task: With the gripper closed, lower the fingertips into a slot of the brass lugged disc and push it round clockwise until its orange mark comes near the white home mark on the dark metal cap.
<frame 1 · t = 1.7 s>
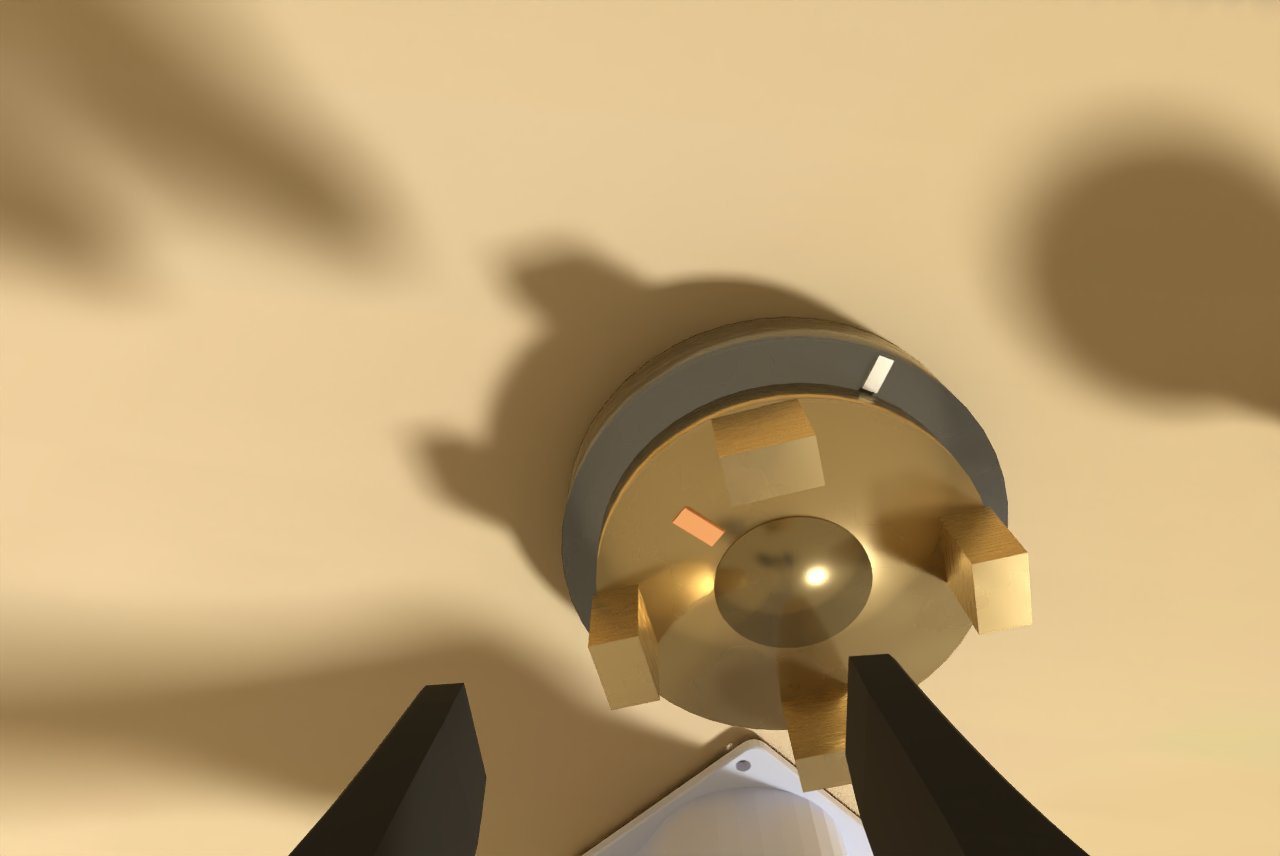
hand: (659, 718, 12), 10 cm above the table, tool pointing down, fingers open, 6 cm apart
brass lugged disc: (795, 593, 19), point 4 cm above the table, hinge at 0.0°
cap base: (771, 514, 22), on the table
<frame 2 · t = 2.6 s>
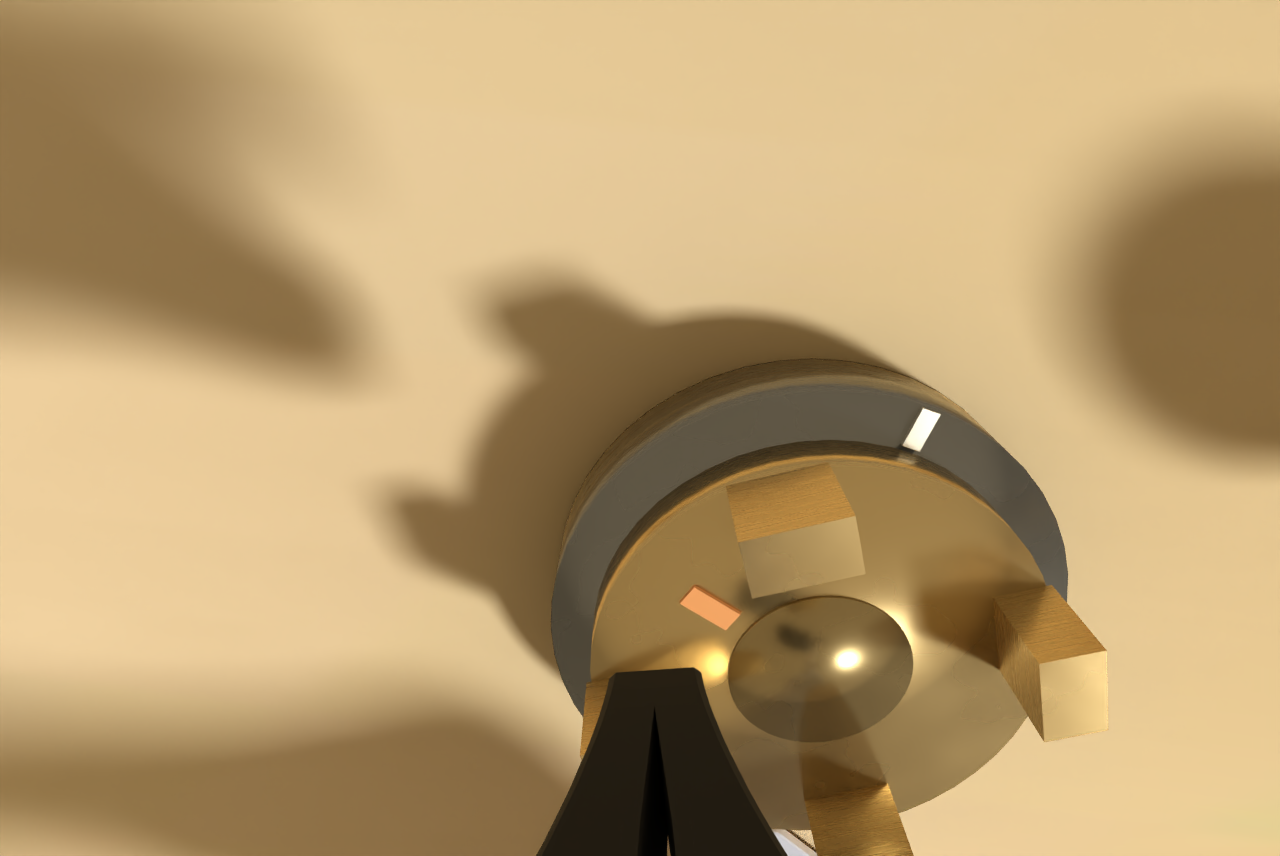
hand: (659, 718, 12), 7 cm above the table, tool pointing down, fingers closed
brass lugged disc: (823, 683, 16), point 4 cm above the table, hinge at 0.0°
cap base: (790, 578, 20), on the table
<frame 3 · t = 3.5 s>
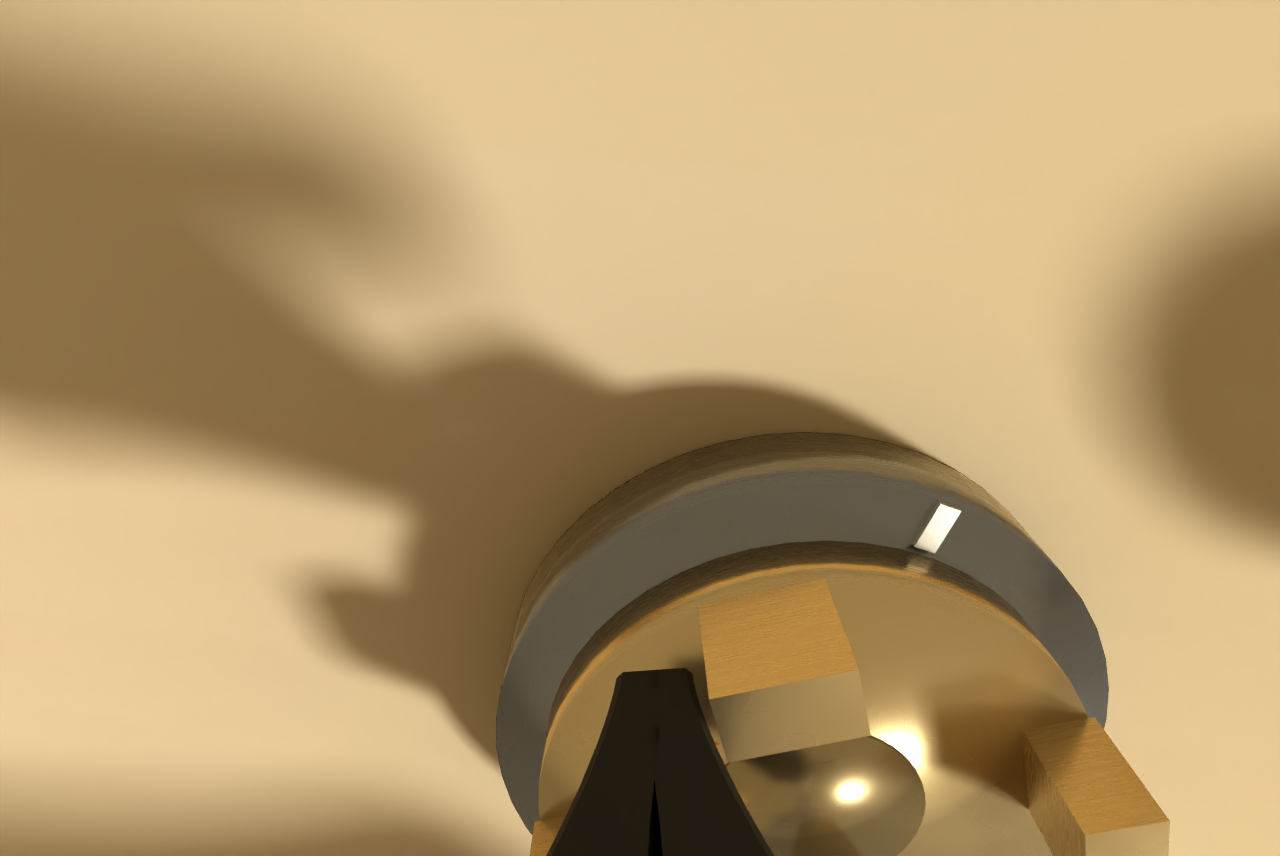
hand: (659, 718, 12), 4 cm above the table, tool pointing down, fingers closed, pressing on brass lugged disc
brass lugged disc: (817, 829, 13), point 4 cm above the table, hinge at 0.0°, touching gripper
cap base: (780, 676, 17), on the table
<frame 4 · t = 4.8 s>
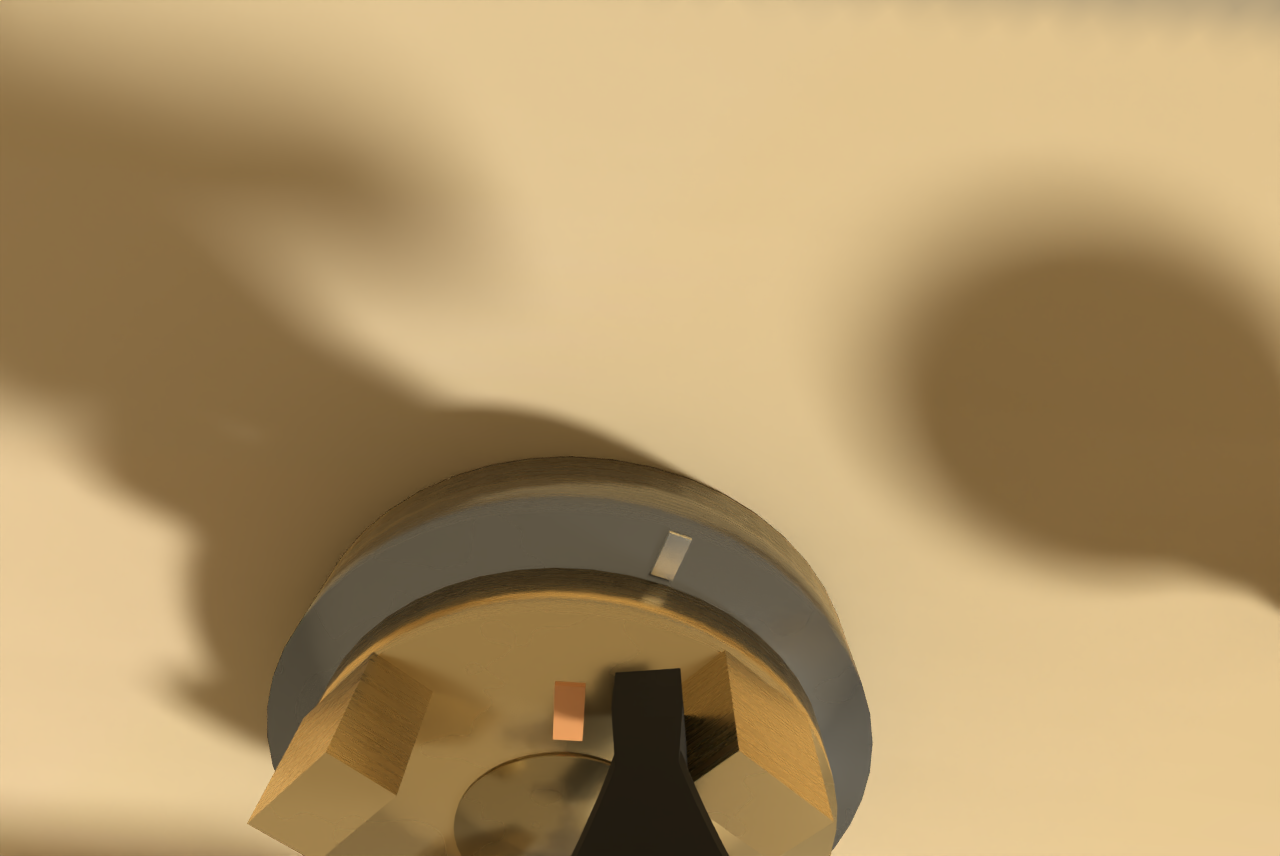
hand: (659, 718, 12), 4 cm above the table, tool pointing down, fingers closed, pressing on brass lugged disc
brass lugged disc: (561, 851, 14), point 4 cm above the table, hinge at -58.8°, touching gripper
cap base: (578, 694, 17), on the table
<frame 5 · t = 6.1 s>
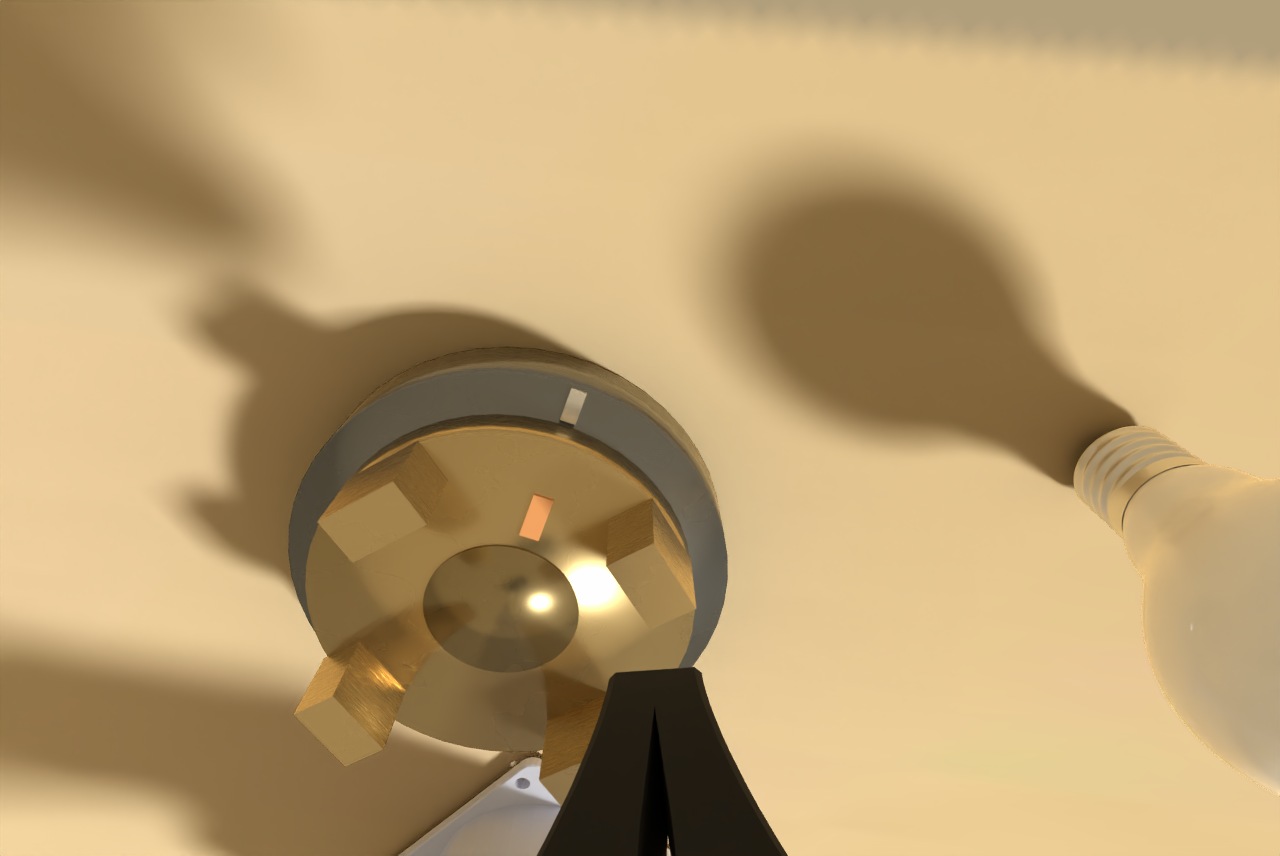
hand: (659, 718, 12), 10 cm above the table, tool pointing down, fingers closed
brass lugged disc: (499, 619, 19), point 4 cm above the table, hinge at -75.1°
lightbulb: (1105, 455, 22), on the table
cap base: (520, 538, 23), on the table
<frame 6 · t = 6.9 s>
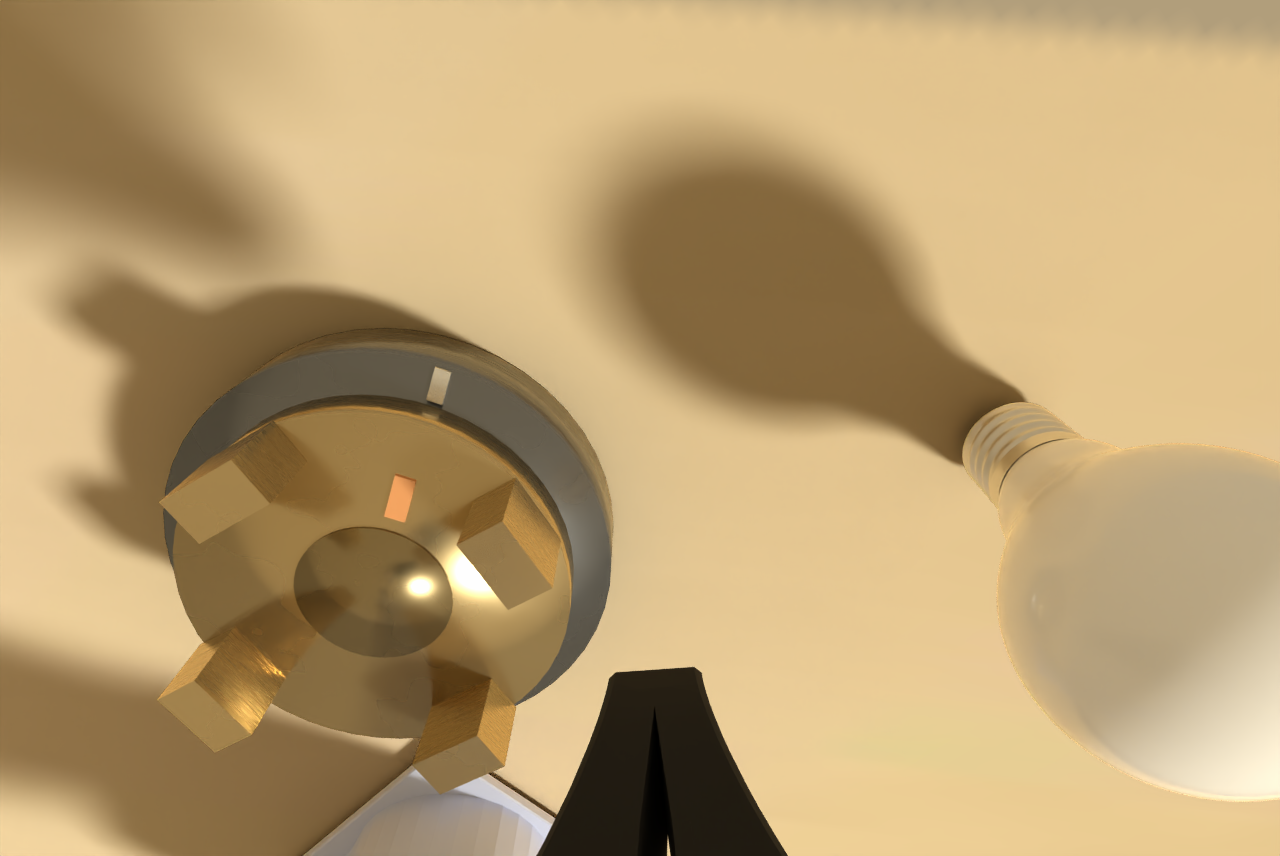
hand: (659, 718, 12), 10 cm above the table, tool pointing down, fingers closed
brass lugged disc: (369, 603, 19), point 4 cm above the table, hinge at -75.1°
lightbulb: (997, 433, 22), on the table
cap base: (411, 523, 22), on the table
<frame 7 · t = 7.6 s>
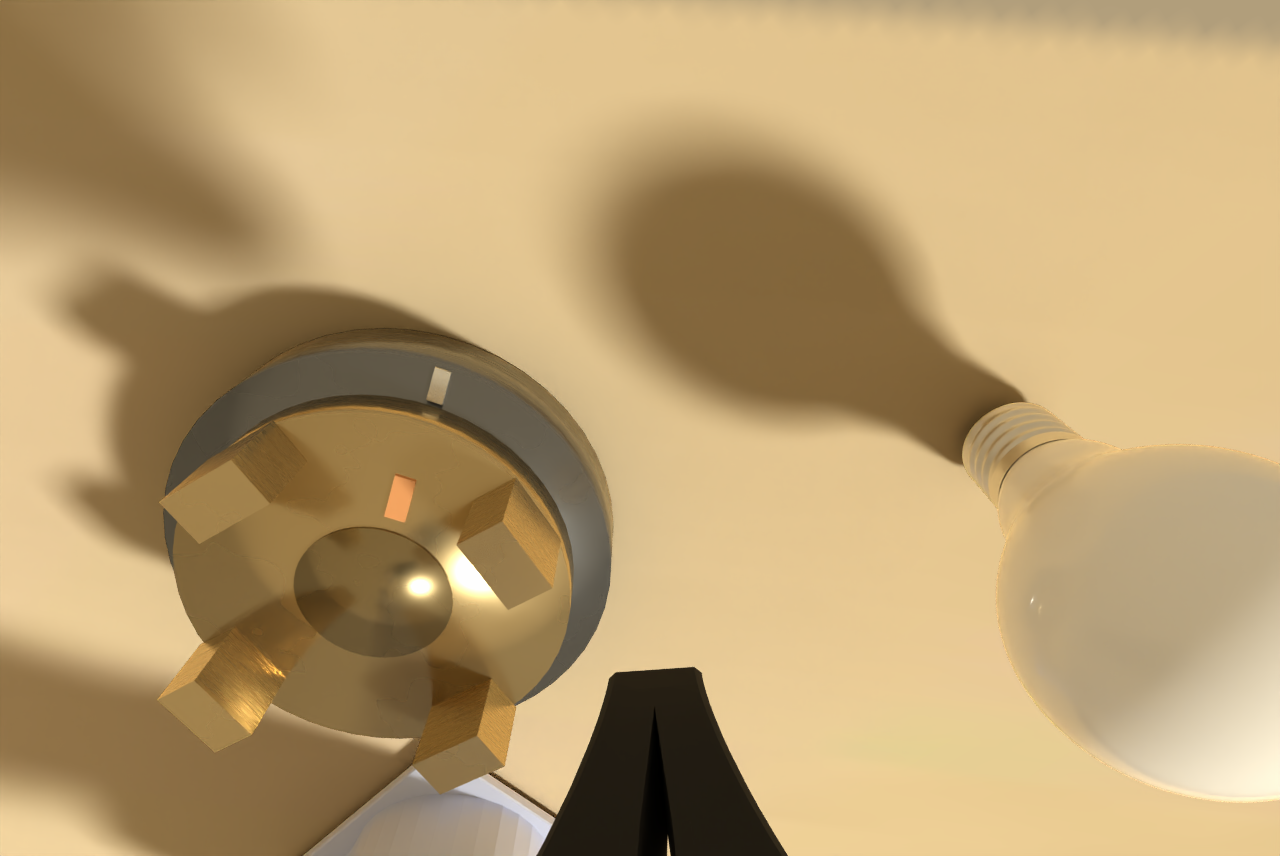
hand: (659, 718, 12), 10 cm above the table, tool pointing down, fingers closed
brass lugged disc: (369, 603, 19), point 4 cm above the table, hinge at -75.1°
lightbulb: (997, 433, 22), on the table
cap base: (411, 523, 22), on the table
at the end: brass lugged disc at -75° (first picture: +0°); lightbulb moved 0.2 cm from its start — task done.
